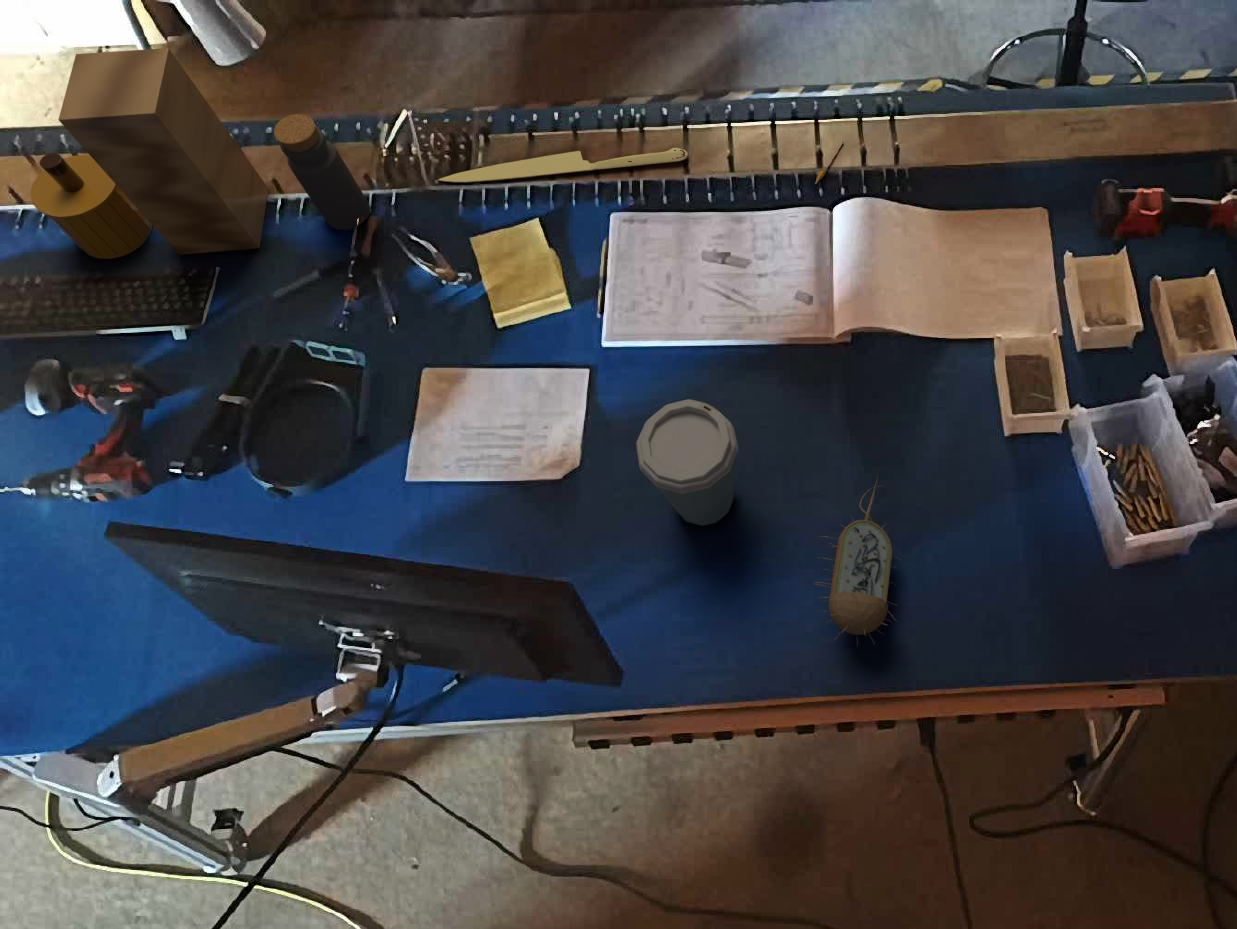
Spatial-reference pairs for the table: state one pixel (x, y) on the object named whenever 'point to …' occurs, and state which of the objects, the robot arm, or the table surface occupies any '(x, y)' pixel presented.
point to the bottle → (321, 172)
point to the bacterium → (860, 576)
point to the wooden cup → (108, 228)
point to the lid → (71, 186)
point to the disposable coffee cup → (690, 459)
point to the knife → (559, 166)
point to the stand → (165, 149)
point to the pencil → (820, 176)
